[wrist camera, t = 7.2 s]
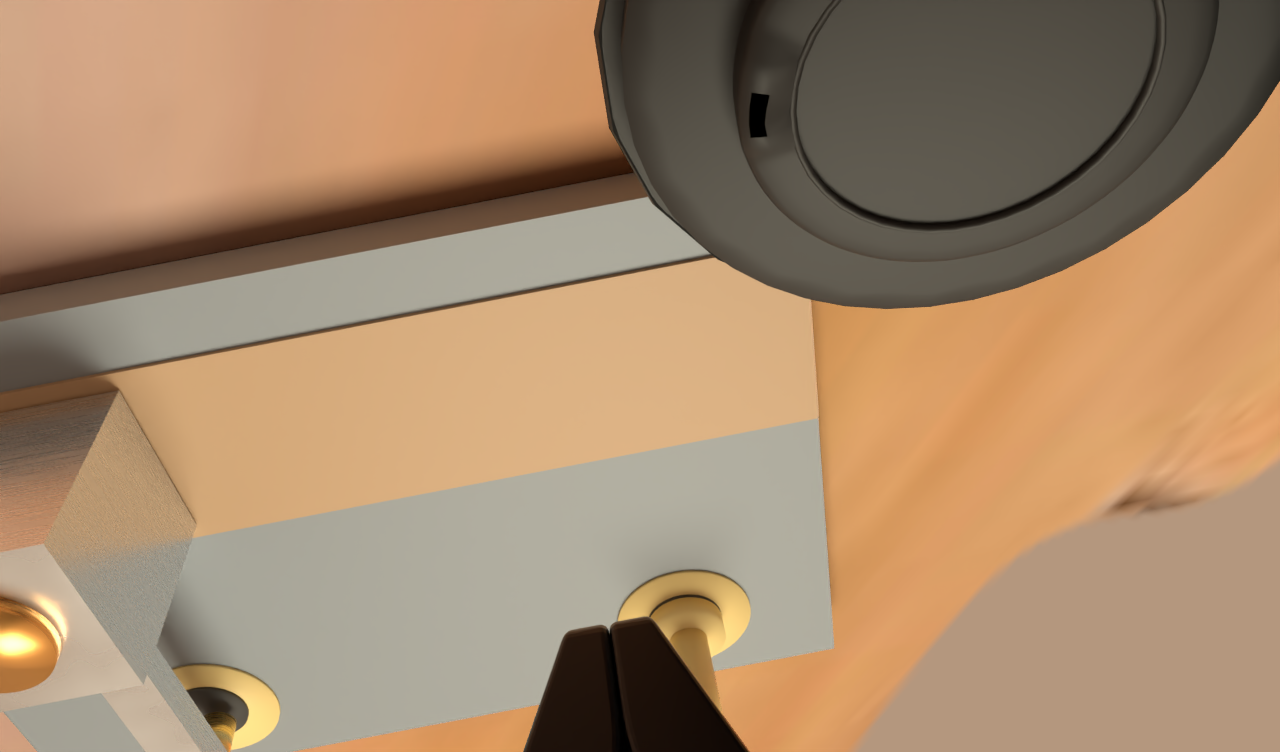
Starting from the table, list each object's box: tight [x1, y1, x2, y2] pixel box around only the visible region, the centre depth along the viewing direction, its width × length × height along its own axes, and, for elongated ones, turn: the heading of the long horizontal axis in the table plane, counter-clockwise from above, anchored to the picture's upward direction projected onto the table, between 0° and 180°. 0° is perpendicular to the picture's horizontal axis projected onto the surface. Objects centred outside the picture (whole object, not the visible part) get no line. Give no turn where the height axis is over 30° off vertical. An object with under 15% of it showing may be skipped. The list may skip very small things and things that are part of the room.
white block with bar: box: [0, 390, 237, 752], centre depth 23 cm, size 4×11×5 cm, turn 9°
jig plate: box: [0, 173, 834, 752], centre depth 24 cm, size 22×15×5 cm
